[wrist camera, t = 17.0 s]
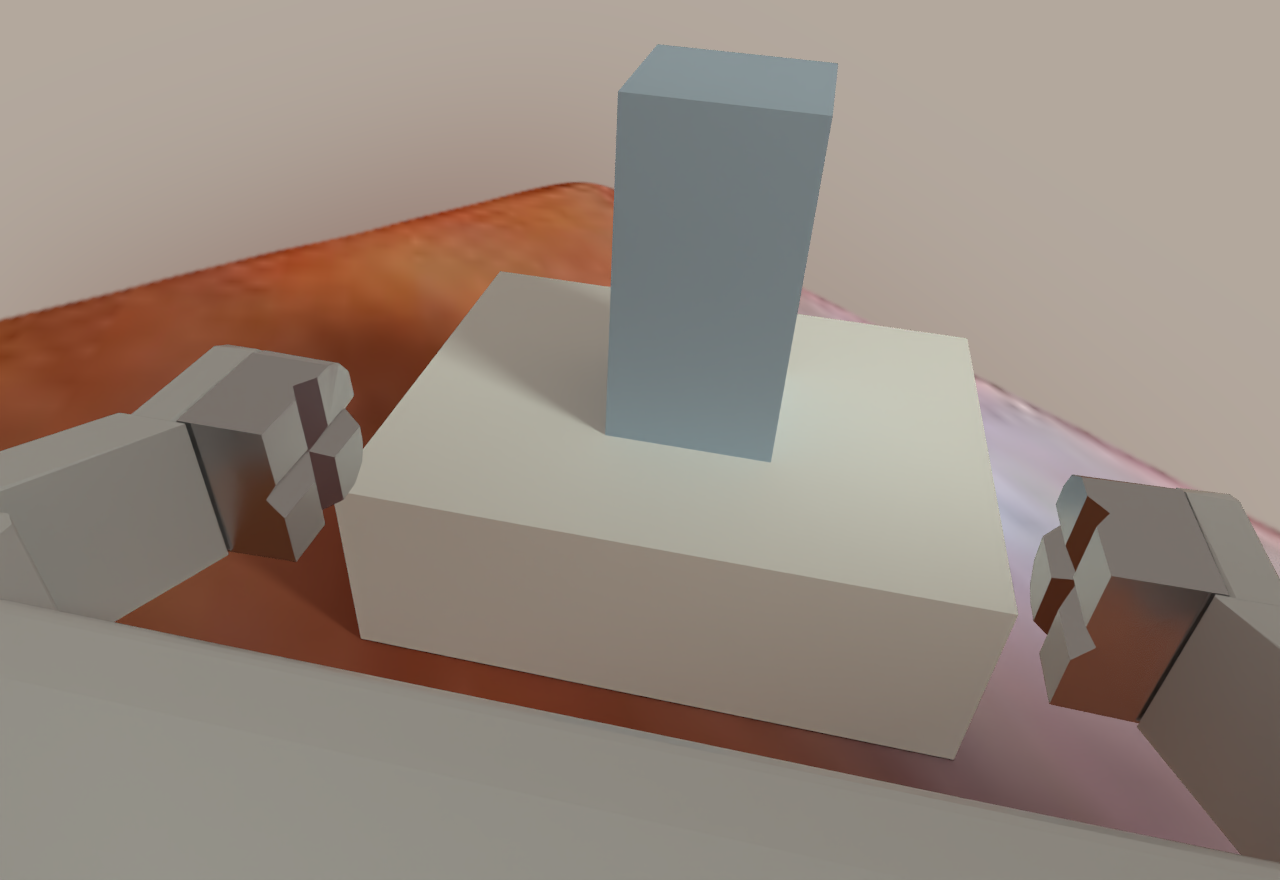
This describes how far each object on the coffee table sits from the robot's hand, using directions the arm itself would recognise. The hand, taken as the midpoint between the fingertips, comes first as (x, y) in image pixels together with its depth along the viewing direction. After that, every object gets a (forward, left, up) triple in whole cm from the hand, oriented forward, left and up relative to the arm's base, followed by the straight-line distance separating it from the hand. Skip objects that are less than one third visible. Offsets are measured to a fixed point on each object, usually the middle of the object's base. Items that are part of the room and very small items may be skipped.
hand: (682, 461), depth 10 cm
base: (+1, -16, -16) cm, 22 cm away
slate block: (+1, -16, -10) cm, 18 cm away
